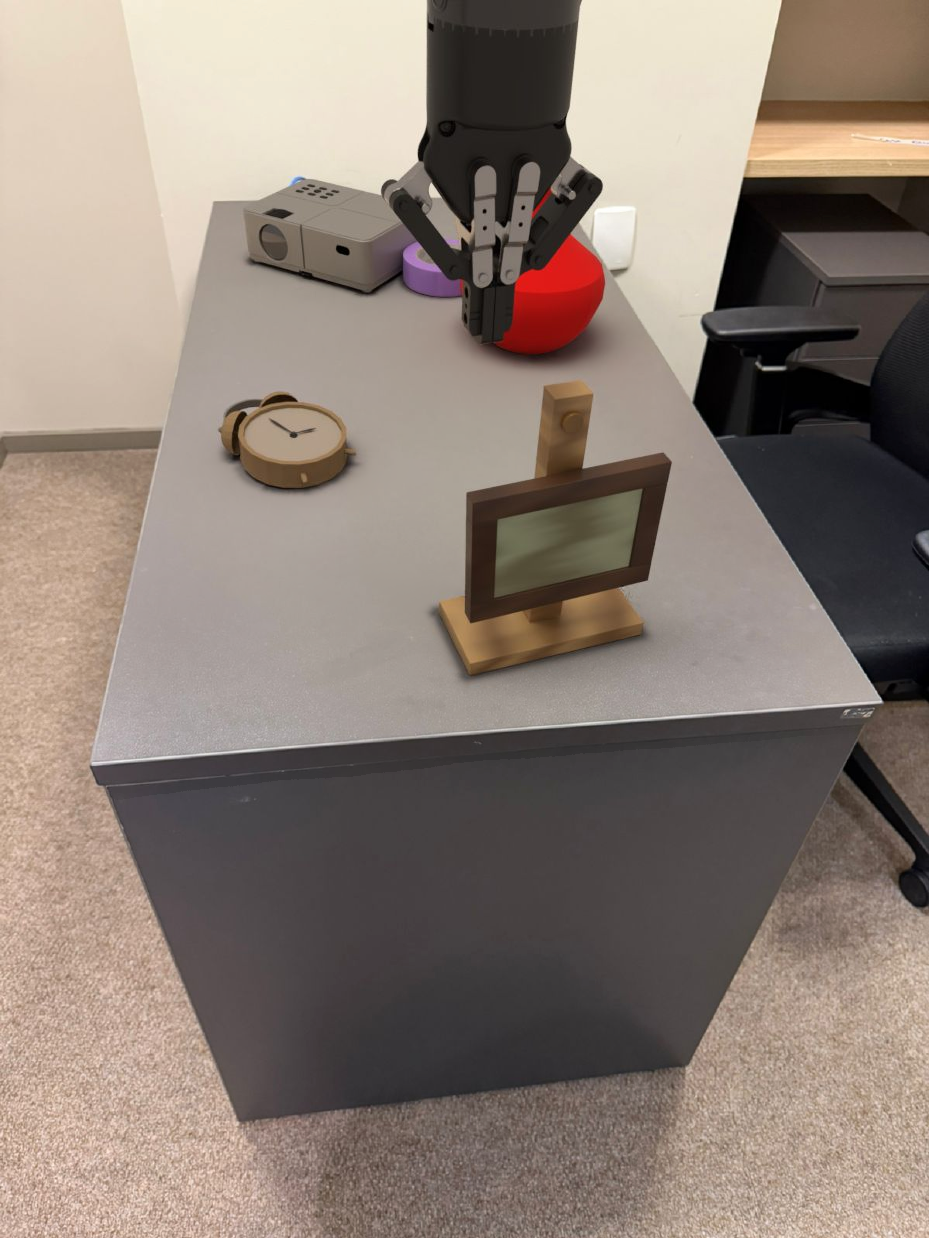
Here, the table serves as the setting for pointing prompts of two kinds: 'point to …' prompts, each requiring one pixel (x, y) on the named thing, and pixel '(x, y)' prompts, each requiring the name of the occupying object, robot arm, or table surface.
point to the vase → (555, 299)
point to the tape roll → (428, 272)
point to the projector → (328, 233)
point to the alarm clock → (286, 440)
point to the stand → (559, 621)
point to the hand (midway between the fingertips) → (485, 337)
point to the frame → (562, 535)
